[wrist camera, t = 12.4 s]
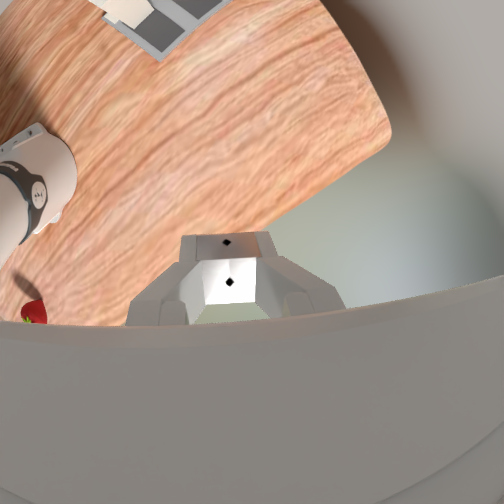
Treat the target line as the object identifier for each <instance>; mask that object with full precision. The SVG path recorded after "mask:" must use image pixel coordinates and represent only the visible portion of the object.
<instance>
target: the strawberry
mask: <svg viewBox="0 0 504 504" xmlns="http://www.w3.org/2000/svg"><path fill="white" fill-rule="evenodd" d="M21 316H22V317H21V318H22V319H23V321H24V322H25V323H38V324H47V314H46V310H45V307H44V303H43V301H42V300H36V301H31V302H28V303H26V304H25V305H24V306H23V307H22V309H21Z"/></svg>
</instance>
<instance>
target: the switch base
mask: <svg viewBox="0 0 504 504" xmlns="http://www.w3.org/2000/svg"><path fill="white" fill-rule="evenodd" d="M147 1H148V2H149V4H150V5H151V6H152V7H153V9H154V11H153V12H152V13H151V14H149V15H148V16H147V17H146V18H145V19H144V20H143V21H142V22H141V23H140V24H139V25H138V26H137V27H136V28H135V29H133V28H131V27H130V26H128V25H127V24H125V23H124V22H122V21H121V20H119V19H117V18H116V17H114V16H113V15H111V14H109V13H108V12H107V13H106V14H105V15H104V16H103V17H102V18H101V19H102V20H104V21H105V22H107V23H108V24H110V25H111V26H112V27H114V28H115V29H117V30H118V31H119V32H121V33H122V34H124V35H125V36H126V37H128V38H129V39H130V40H132V41H133V42H134V43H136V44H137V45H138V46H140V47H141V48H142V49H144V50H145V51H146V52H148V53H149V54H150V55H151V56H153V57H154V58H155V59H156V60H158V61H159V62H161V61H162V60H163V59H164V58H165V57H166V56H167V55H168V54H170V53H171V52H172V51H173V50H174V49H175V48H176V47H177V46H178V45H179V44H180V43H181V42H182V41H183V40H184V39H186V38H187V37H188V36H189V35H190V34H191V33H192V32H193V31H195V30H196V29H197V28H198V27H199V26H201V25H202V24H203V23H204V22H205V21H207V20H208V19H209V18H210V17H212V16H213V15H214V14H215V13H217V12H218V11H219V10H221V9H222V8H223V7H225V6H226V5H227V4H229V3H230V2H232V1H233V0H147Z"/></svg>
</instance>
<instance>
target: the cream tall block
mask: <svg viewBox="0 0 504 504" xmlns="http://www.w3.org/2000/svg"><path fill="white" fill-rule="evenodd" d="M88 1H90V2H92V3H93V4H95V5H96V6H98V7H99V8H101V9H103V10H104V11H106V12H108V13H109V14H111V15H113V16H114V17H116V18H117V19H119V20H121V21H122V22H124V23H125V24H127V25H128V26H130V27H131V28H133V29H135V28H136V27H137V26H138V25H139V24H140V23H141V22H142V21H143V20H144V19H145V18H146V17H147V16H148V15H149V14H151V13H152V12H153V11H154V9H153V7H152V6H151V5H150V4H149V2H148V1H147V0H88Z"/></svg>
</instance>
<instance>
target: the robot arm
mask: <svg viewBox="0 0 504 504" xmlns="http://www.w3.org/2000/svg"><path fill="white" fill-rule="evenodd" d="M31 131H32V134H31ZM76 183H77V169H76V164H75V160H74V158H73V155H72V153H71V151H70V150H69V148H68V147H67V146H66V144H65V143H64V142H63V141H61V140H60V139H59V138H57V137H55V136H53V135H51V134H50V133H48V132H47V131H46V129H45V128H44V127H43V125H42V124H40V123H39V122H36V123H34V124H32V125H31V126H29V127H28V128H26V129H24V130H23V131H21V132H20V133H18V134H17V135H15V136H14V137H12V138H11V139H9V140H8V141H7V142H5V143H4V144H2V145H1V146H0V270H1V268H2V267H3V265H4V264H5V262H6V261H7V259H8V258H9V257H10V255H11V254H12V253H13V251H14V250H15V248H16V247H17V246H18V245H20V244H22V243H23V242H24V241H25V240H27V239H28V238H29V237H30V236H31V234H32V233H34V234H37V233H39V232H40V231H41V230H42V229H43V228H44V227H45V226H46V225H47V224H48V223H56V222H57V221H58V220H59V219H60V217H61V214H62V210H63V208H64V206H65V205H66V204H67V203H68V202H69V200H70V199H71V198H72V196H73V194H74V191H75V188H76ZM250 301H255V303H256V304H257V305H258V306H259V307H260V308H261V309H262V310H263V311H264V312H265V313H266V314H267V315H268V316H269V317H270V318H271V319H261V320H251V321H238V322H224V323H209V324H194V322H195V321H196V319H197V318H198V316H199V315H200V313H201V312H202V310H203V309H204V307H205V305H208V304H218V303H219V304H220V303H230V302H250ZM0 504H504V275H501V276H498V277H494V278H491V279H487V280H483V281H480V282H476V283H472V284H468V285H464V286H460V287H456V288H452V289H448V290H444V291H439V292H435V293H430V294H425V295H421V296H416V297H411V298H406V299H401V300H395V301H391V302H385V303H379V304H374V305H368V306H361V307H355V308H349V309H346V307H345V305H344V303H343V301H342V299H341V298H340V296H339V294H338V292H337V290H336V288H335V287H333V286H332V285H330V284H329V283H327V282H325V281H324V280H322V279H320V278H319V277H317V276H315V275H313V274H312V273H310V272H309V271H307V270H305V269H303V268H302V267H300V266H298V265H297V264H295V263H293V262H292V261H290V260H288V259H287V258H285V257H283V256H278V254H277V251H276V249H275V246H274V244H273V241H272V239H271V236H270V234H269V232H268V231H257V232H243V233H230V234H199V235H196V234H195V235H183V236H182V238H181V246H180V255H179V262H175V263H174V264H172V265H171V266H170V267H169V268H168V269H167V270H165V271H164V272H163V273H162V274H161V275H160V276H159V277H157V278H156V279H155V280H154V281H153V282H152V283H151V284H150V285H148V286H147V287H146V288H145V289H144V290H143V291H142V292H141V293H140V294H138V295H137V296H136V297H135V298H134V299H133V300H132V301H131V302H130V307H129V311H128V315H127V320H126V324H125V326H76V325H54V324H38V323H25V322H13V321H3V320H0Z"/></svg>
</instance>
